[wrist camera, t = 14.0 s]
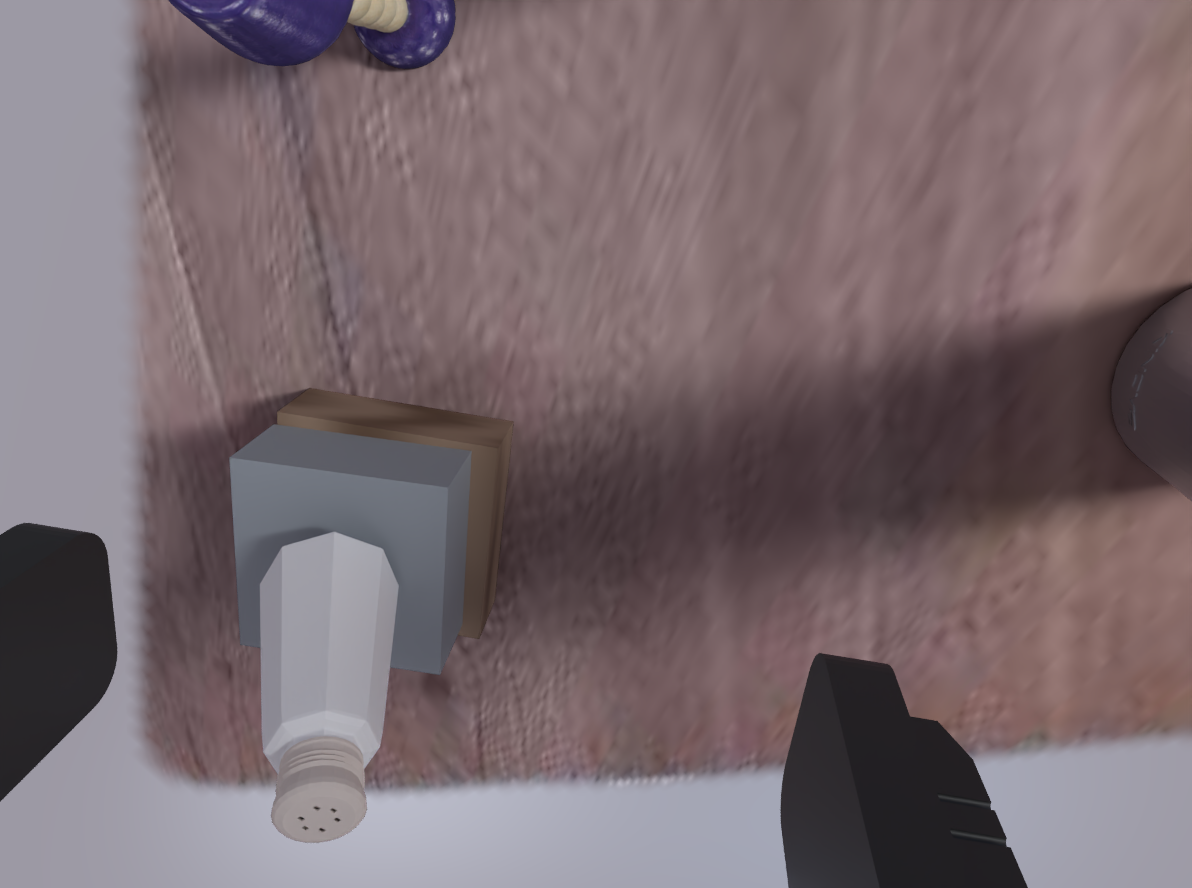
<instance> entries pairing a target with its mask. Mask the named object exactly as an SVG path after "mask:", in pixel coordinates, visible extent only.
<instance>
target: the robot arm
mask: <svg viewBox="0 0 1192 888" xmlns="http://www.w3.org/2000/svg"><path fill="white" fill-rule="evenodd" d="M1111 409H1112V413H1113V417H1114V421H1115V425H1116V428H1117V430H1118V432H1119V434H1120V436H1121V437H1122V439H1123V441H1124V443H1125V445H1126V446H1127V447H1128V448H1129V449H1130V450H1131V451H1132V452H1133V453H1134V454H1135V455H1136V456H1137V457H1138V458H1139V459H1140V460H1141V461H1142V462H1143V463H1145V464H1146V465H1147V466H1148V467H1150V468H1151V469H1152V470H1154V471H1155V472H1156V473H1157V474H1159V475H1160V476H1161V477H1162V478H1164V479H1165V480H1166V481H1167V482H1169V483H1170V484H1171V485H1173V486H1174V487H1175V488H1176V489H1178V490H1179V491H1180V492H1181V493H1182V494H1183V495H1185V496H1186V497H1187V498H1188V499H1190V500H1191V501H1192V288H1191V289H1189V290H1186V291H1184V292H1182V293H1181V294H1179V295H1178V296H1176V297H1175V298H1173V299H1172V300H1170V301H1169V302H1167V303H1166V304H1164V305H1163V306H1161V307H1160V308H1159V309H1158V310H1157V311H1156V312H1155V313H1154V314H1153V315H1152V316H1150V317H1149V318H1148V319H1147V320H1146V321H1145V322H1144V323H1143V324H1142V325H1141V326H1140V328H1139V329H1138V330H1137V332H1136V333H1135V335H1134V336H1133V337H1132V339H1131V340H1130V341H1129V343H1128V344H1127V346H1126V348H1125V350H1124V352H1123V354H1122V356H1121V358H1120V360H1119V362H1118V364H1117V367H1116V371H1115V375H1114V379H1113V384H1112V398H1111ZM116 661H117V642H116V631H115V621H114V612H113V602H112V592H111V583H110V573H109V565H108V555H107V550H106V547H105V544H104V543H103V541H102V539H101V538H100V537H99V536H97V535H95V534H92V533H88V532H82V531H75V530H69V529H63V528H57V527H51V526H45V525H38V524H32V523H23V524H19V525H16V526H14V527H12V528H11V529H9V530H7V531H6V532H4V533H3V534H1V535H0V801H1V800H2V799H3V798H4V797H5V796H6V795H7V794H8V793H9V792H10V791H11V790H12V789H13V788H14V787H15V786H16V785H17V784H18V783H19V782H20V781H21V780H22V779H23V778H24V777H25V776H26V775H27V774H28V773H29V772H30V771H31V770H32V769H33V768H34V767H35V766H36V765H37V764H38V763H39V762H40V761H41V760H42V759H43V758H44V757H45V756H46V755H47V754H48V753H49V752H50V751H51V750H52V749H53V748H54V747H55V746H56V745H57V744H58V743H59V742H60V741H61V740H62V739H63V738H64V737H65V736H66V735H67V734H68V733H69V732H70V731H71V730H72V729H73V728H74V727H75V726H76V725H77V724H78V723H79V722H80V721H81V720H82V719H83V718H84V717H85V716H86V715H87V714H88V713H89V712H90V711H91V710H92V709H93V708H94V707H95V706H96V705H97V704H98V702H99V701H100V700H101V698H102V697H103V695H104V694H105V692H106V690H107V688H108V686H109V684H110V682H111V679H112V677H113V674H114V670H115V666H116ZM990 804H991V801H990V798H989V796H988V794H987V792H986V789H985V787H984V784H983V782H982V780H981V778H980V775H979V773H978V770H977V768H976V766H975V763H974V761H973V759H972V758H971V757H970V756H969V755H968V754H967V753H966V752H965V751H964V749H963V748H962V747H961V746H960V745H959V744H958V743H957V742H956V741H955V740H954V739H953V738H952V736H951V735H950V734H949V733H948V732H947V731H946V730H945V729H944V728H943V727H942V726H941V724H940V723H939V722H938V721H934V720H928V719H922V718H916V717H910V715H909V713H908V710H907V707H906V704H905V701H904V699H903V696H902V693H901V690H900V687H899V685H898V682H897V679H896V676H895V673H894V671H893V669H892V668H891V666H890V665H888V664H884V663H878V662H871V661H865V660H859V659H853V658H847V657H841V656H834V655H828V654H822V653H819V654H817V655H816V657H815V658H814V660H813V662H812V665H811V668H810V671H809V675H808V679H807V683H806V687H805V690H804V694H803V698H802V702H801V706H800V710H799V714H798V718H797V722H796V725H795V729H794V733H793V737H792V741H791V745H790V749H789V753H788V757H787V760H786V765H785V769H784V775H783V782H782V792H781V828H782V836H783V845H784V853H785V861H786V869H787V877H788V886H789V888H1028V887H1027V885H1026V883H1025V880H1024V878H1023V875H1022V873H1021V871H1020V869H1019V866H1018V864H1017V861H1016V859H1015V857H1014V855H1013V852H1012V850H1011V848H1010V847H1006V836H1005V833H1004V832H1003V829H1002V826H1001V824H1000V822H999V819H998V817H997V815H996V813H995V811H994V810H991V808H990Z"/></svg>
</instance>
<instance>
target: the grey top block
mask: <svg viewBox="0 0 1192 888" xmlns="http://www.w3.org/2000/svg"><path fill="white" fill-rule="evenodd" d="M471 454H472V451H468V450H461V449H453V448H446V447H439V446H431V445H424V444H416V443H409V442H402V441H394V440H387V439H380V438H372V437H365V436H357V435H350V434H343V433H335V432H328V431H320V430H313V429H306V428H298V427H291V426H283V425H276V424H273V425H272V426H271V427H269V428H268V429H267V430H265V431H264V432H263V433H261V434H260V435H259V436H257V437H256V438H255V439H253V440H252V441H251V442H249V443H248V444H247V445H246V446H244V447H243V448H242V449H240V450H239V451H238V452H236V453H235V454H234V455H232V456H231V457H230V458H229V459H230V476H231V493H232V510H233V527H234V544H235V561H236V578H237V595H238V612H239V630H240V645H245V646H251V647H258V648H261V637H260V583H261V582H262V580H263V578H264V576H265V575H266V573H267V571H268V570H269V568H270V566H271V565H272V563H273V561H274V560H275V558H276V556H277V555H278V553H279V551H280V549H281V548H282V547H283V546H285V545H289V544H292V543H296V542H299V541H303V540H306V539H310V538H313V537H317V536H321V535H324V534H328V533H331V532H337V533H340V534H343V535H346V536H348V537H351V538H354V539H357V540H360V541H363V542H365V543H368V544H371V545H374V546H377V547H380V548H382V549H383V550H384V553H385V555H386V557H387V560H388V562H389V564H390V567H391V569H392V571H393V574H394V576H395V578H396V581H397V583H398V585H399V588H398V597H397V607H396V616H395V625H394V634H393V643H392V652H391V661H390V667H391V668H398V669H405V670H411V671H418V672H425V673H431V674H438V675H440V674H441V671H442V669H443V667H444V665H445V662H446V660H447V658H448V656H449V653H450V651H451V649H452V647H453V644H454V642H455V640H456V638H457V635H458V633H459V631H460V629H461V626H462V623H463V604H464V586H465V567H466V548H467V529H468V510H469V492H470V473H471Z"/></svg>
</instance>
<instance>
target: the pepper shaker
mask: <svg viewBox="0 0 1192 888" xmlns="http://www.w3.org/2000/svg"><path fill="white" fill-rule="evenodd" d="M398 588H399V585H398V583H397V581H396V578H395V576H394V574H393V571H392V569H391V567H390V564H389V562H388V560H387V557H386V555H385V553H384V550H383V549H382V548H380V547H377V546H374V545H371V544H368V543H365V542H363V541H360V540H357V539H354V538H351V537H348V536H346V535H343V534H340V533H337V532H331V533H328V534H324V535H321V536H317V537H313V538H310V539H306V540H303V541H299V542H296V543H292V544H289V545H285V546H283V547H282V548H281V549H280V551H279V553H278V555H277V556H276V558H275V560H274V561H273V563H272V565H271V566H270V568H269V570H268V571H267V573H266V575H265V576H264V578H263V580H262V582H261V583H260V637H261V710H262V742H263V752H264V754H265V755H266V757H267V758H268V760H269V761H270V763H271V765H272V766H273V768H274V769H275V771H276V772H277V774H278V777H277V784H276V798H275V801H274V803H273V807H272V812H271V818H272V823H273V824H274V826H275V827H276V829H277V830H278V831H279V832H280V833H282V834H283V835H284V836H286V837H288V838H290V839H292V840H295V841H300V842H306V843H319V842H325V841H330V840H334V839H337V838H340V837H342V836H344V835H346V834H348V833H349V832H350V831H352V830H353V829H354V828H356V827H357V826H358V825H359V823H360V822H361V821H362V819H363V818H364V817H365V813H366V810H367V803H366V795H365V792H364V787H365V782H364V781H365V778H364V776H365V774H364V768H365V767H366V766H367V764H368V763H369V761H370V760H371V759H372V757H373V756H374V755H375V753H376V752H377V750H378V749H379V748H380V744H381V738H382V732H383V725H384V716H385V707H386V698H387V689H388V680H389V671H390V661H391V652H392V643H393V634H394V625H395V616H396V607H397V597H398Z"/></svg>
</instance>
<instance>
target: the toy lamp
mask: <svg viewBox="0 0 1192 888" xmlns="http://www.w3.org/2000/svg"><path fill="white" fill-rule="evenodd" d="M169 2H170V3H171V4H172V5H173V6H174V7H175V8H176V9H178V10H179V11H180V12H181V13H182V14H183V15H185V16H186V17H187V18H189V19H190V20H191V21H192V22H194V23H195V24H196V25H197V26H199V27H200V28H201V29H202V30H204V31H205V32H206V33H207V34H209V35H210V36H211V37H212V38H214V39H215V40H217V41H218V42H219V43H221V44H222V45H223V46H225V47H226V48H228V49H229V50H231V51H233V52H234V53H236V54H238V55H240V56H242V57H244V58H246V59H249V60H252V61H254V62H257V63H261V64H266V65H273V66H289V65H297V64H301V63H304V62H307V61H310V60H311V59H313V58H315V57H317V56H319V55H320V54H321V53H323V52H324V51H325V50H326V49H327V48H328V47H330V46H331V45H332V44H333V43H334V42H335V41H336V40H337V38H338V37H339V35H340V33H341V32H342V30H343V28H344V26H345V25H346V23H347V22H349V23H350V24H353V25H354V28H355V31H356V33H357V35H358V37H359V39H360V40H361V42H362V43H363V44H364V46H365V47H366V48H367V49H368V50H369V51H370V52H371V53H372V54H373V55H374V56H375V57H376V58H377V59H379V60H380V61H382V62H384V63H386V64H388V65H390V66H393V67H397V68H403V69H409V68H418V67H422V66H424V65H427V64H428V63H430V62H432V61H434V60H435V59H436V58H437V57H438V56H439V55H440V54H441V53H442V52H443V50H444V49H445V48H446V47H447V46H448V44H449V41H450V39H451V37H452V34H453V31H454V26H455V18H456V17H455V3H454V0H169Z"/></svg>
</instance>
